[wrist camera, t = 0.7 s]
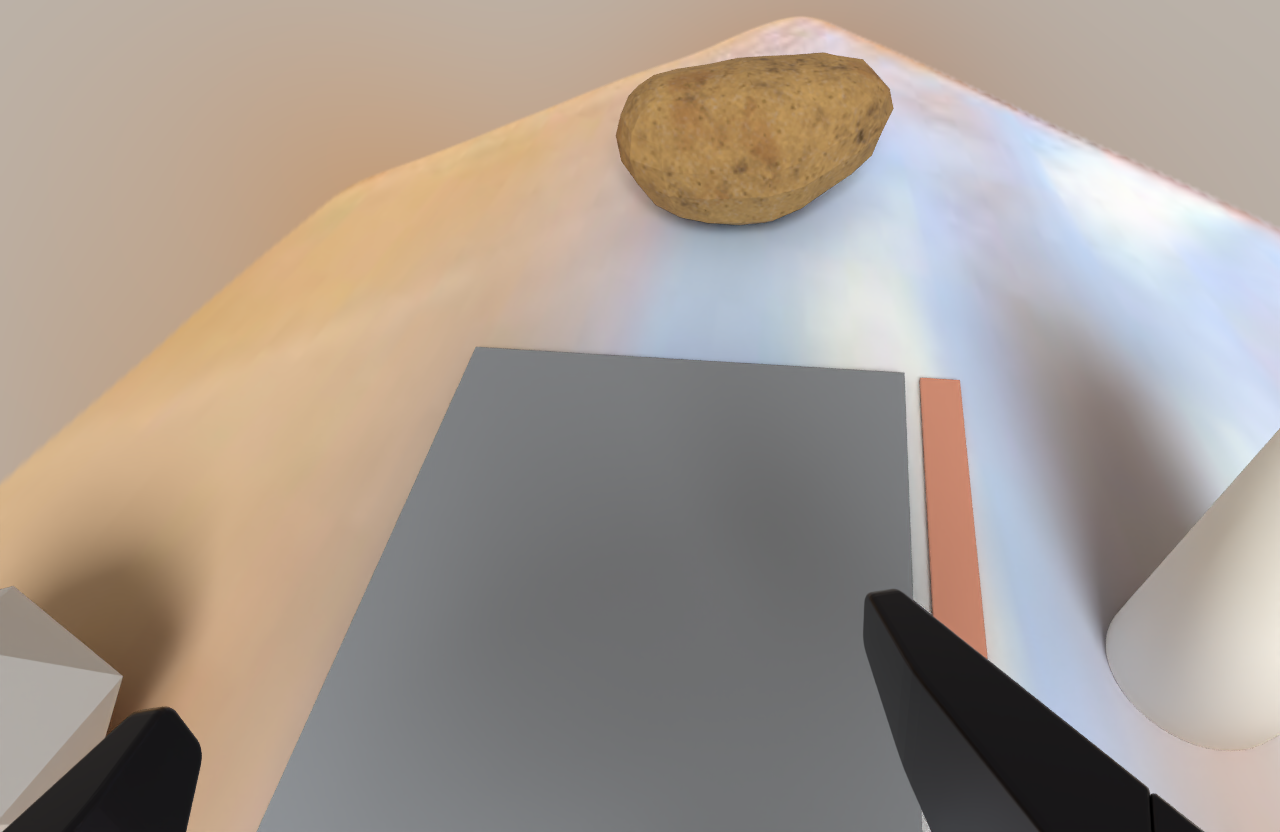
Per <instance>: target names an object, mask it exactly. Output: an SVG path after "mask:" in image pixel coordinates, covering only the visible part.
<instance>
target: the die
mask: <svg viewBox="0 0 1280 832" xmlns="http://www.w3.org/2000/svg"><path fill="white" fill-rule="evenodd" d="M122 678H123V676H122V675H121V674H120V673H119V672H117V671H116V670H115V669H114V668H112V667H111V666H110V665H109V664H108V663H106V662H105V661H104V660H103V659H102V658H100V657H99V656H98V655H97V654H95V653H94V652H93V651H92V650H91V649H89V648H88V647H87V646H86V645H85V644H83V643H82V642H81V641H80V640H78V639H77V638H76V637H75V636H74V635H72V634H71V633H70V632H69V631H68V630H66V629H65V628H64V627H63V626H61V625H60V624H59V623H58V622H57V621H55V620H54V619H53V618H52V617H51V616H49V615H48V614H47V613H46V612H44V611H43V610H42V609H41V608H40V607H38V606H37V605H36V604H35V603H34V602H32V601H31V600H30V599H29V598H28V597H26V596H25V595H24V594H23V593H21V592H20V591H19V590H18V589H17V588H15V587H14V586H11V587H8V588H4V589H0V832H2V831H3V830H4V829H6V828H7V827H8V826H9V825H10V824H11V823H12V822H13V821H14V820H15V819H16V818H18V817H19V816H20V815H21V814H22V813H23V812H24V811H25V810H26V809H27V808H29V807H30V806H31V805H32V804H33V803H34V802H35V801H36V800H37V799H38V798H40V797H41V796H42V795H43V794H44V793H45V792H46V791H47V790H48V789H49V788H50V787H52V786H53V785H54V784H55V783H56V782H57V781H58V780H59V779H60V778H61V777H63V776H64V775H65V774H66V773H67V772H68V771H69V770H70V769H71V768H72V767H74V766H75V765H76V764H77V763H78V762H79V761H80V760H81V759H82V758H83V757H84V756H86V755H87V754H88V753H89V752H90V751H91V750H92V749H93V748H94V747H95V746H97V745H98V744H99V743H100V742H101V741H102V740H103V739H104V738H105V736H106V733H107V730H108V726H109V723H110V719H111V716H112V712H113V709H114V706H115V702H116V699H117V695H118V692H119V688H120V685H121V682H122Z"/></svg>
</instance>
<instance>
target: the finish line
mask: <svg viewBox="0 0 1280 832" xmlns="http://www.w3.org/2000/svg"><path fill="white" fill-rule="evenodd" d="M920 396H921V414H922V432H923V450H924V468H925V486H926V504H927V522H928V540H929V558H930V576H931V594H932V613H933V616H934V617H935V618H936V619H937V620H939V621H940V622H941V623H942V624H944V625H945V626H946V627H947V628H949V629H950V630H951V631H952V632H954V633H955V634H956V635H957V636H959V637H960V638H961V639H962V640H964V641H965V642H966V643H967V644H969V645H970V646H971V647H973V648H974V649H975V650H976V651H978V652H979V653H980V654H981V655H983V656H984V657H985V658H986V659H987V649H986V639H985V629H984V618H983V608H982V598H981V588H980V578H979V568H978V558H977V548H976V538H975V528H974V518H973V508H972V498H971V488H970V478H969V468H968V458H967V448H966V438H965V428H964V418H963V408H962V398H961V388H960V380H949V379H933V378H920Z"/></svg>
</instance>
